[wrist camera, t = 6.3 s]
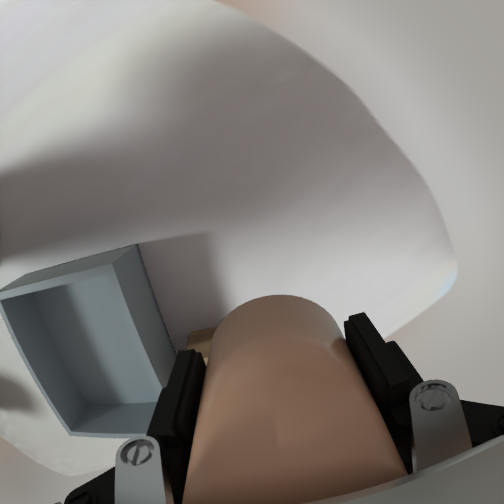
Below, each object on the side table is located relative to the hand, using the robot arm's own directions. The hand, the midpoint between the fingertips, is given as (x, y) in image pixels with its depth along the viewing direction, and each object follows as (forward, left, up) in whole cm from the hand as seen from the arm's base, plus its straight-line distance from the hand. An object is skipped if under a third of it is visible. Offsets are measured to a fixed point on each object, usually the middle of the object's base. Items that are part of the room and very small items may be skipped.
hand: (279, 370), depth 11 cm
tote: (+6, -18, -17) cm, 25 cm away
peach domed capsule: (0, 0, -1) cm, 1 cm away
